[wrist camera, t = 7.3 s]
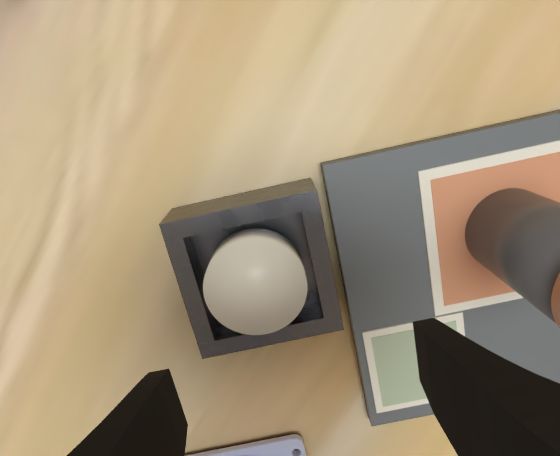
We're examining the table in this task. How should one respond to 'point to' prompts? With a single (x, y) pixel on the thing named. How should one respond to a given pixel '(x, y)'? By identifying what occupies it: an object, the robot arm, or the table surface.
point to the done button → (255, 282)
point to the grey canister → (520, 244)
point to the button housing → (245, 215)
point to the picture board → (436, 253)
